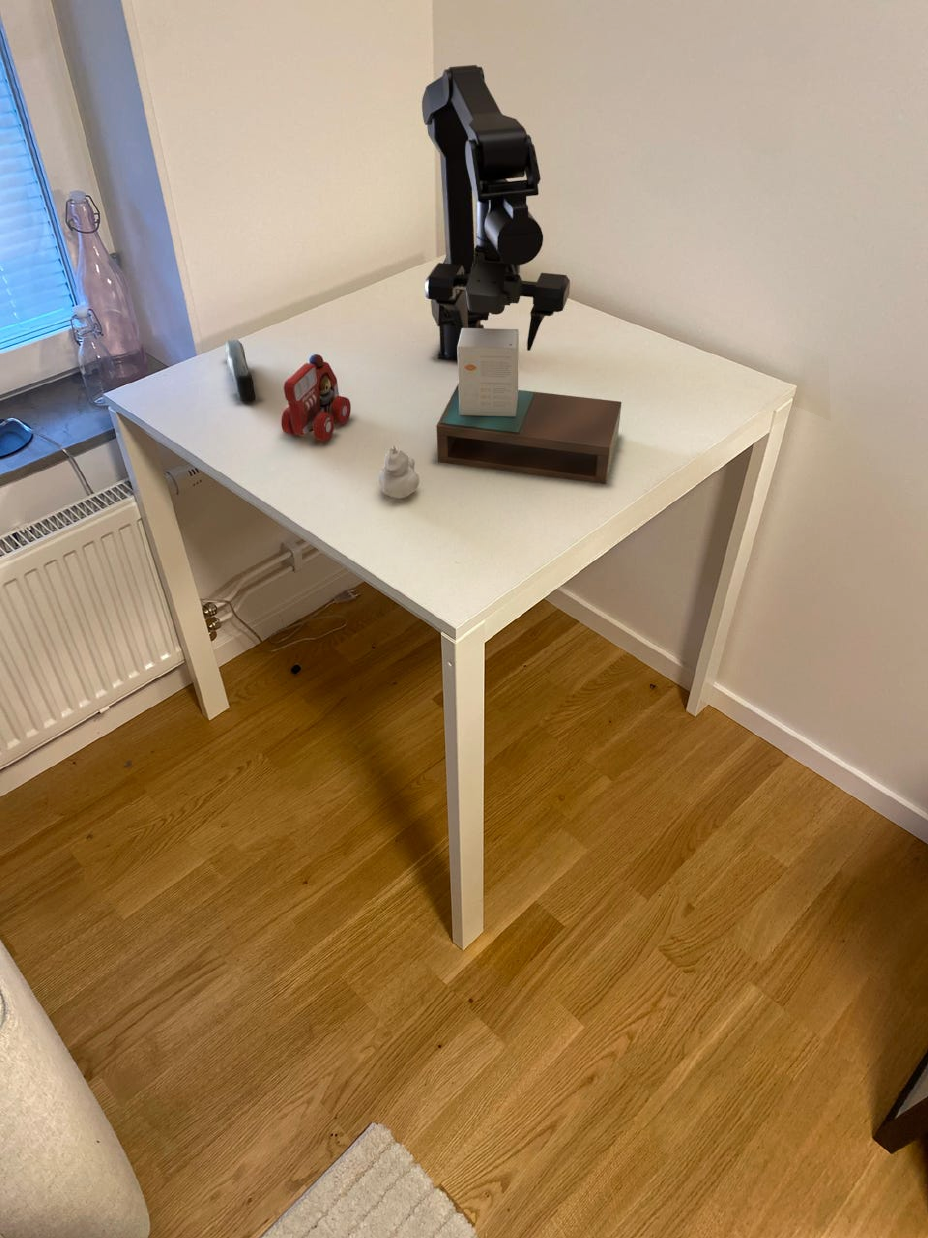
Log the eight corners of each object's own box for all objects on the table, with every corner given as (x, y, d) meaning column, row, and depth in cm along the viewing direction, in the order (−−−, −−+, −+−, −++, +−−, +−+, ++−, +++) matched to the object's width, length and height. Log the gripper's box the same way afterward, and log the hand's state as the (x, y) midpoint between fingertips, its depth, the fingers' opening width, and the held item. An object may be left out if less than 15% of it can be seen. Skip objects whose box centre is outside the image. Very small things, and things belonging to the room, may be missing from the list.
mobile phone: (254, 374, 142) (237, 329, 152) (235, 378, 142) (218, 332, 152) (260, 402, 146) (242, 357, 156) (240, 406, 145) (224, 360, 155)
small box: (518, 397, 133) (520, 328, 126) (516, 418, 129) (517, 347, 122) (462, 395, 134) (461, 326, 127) (458, 415, 130) (456, 345, 123)
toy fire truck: (358, 410, 143) (351, 347, 136) (318, 452, 135) (309, 388, 128) (318, 402, 145) (309, 339, 138) (277, 443, 137) (265, 379, 130)
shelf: (437, 461, 133) (436, 424, 129) (459, 418, 141) (458, 381, 137) (605, 484, 128) (610, 445, 124) (617, 437, 137) (621, 400, 132)
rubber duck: (371, 499, 127) (366, 449, 121) (395, 473, 131) (391, 424, 125) (406, 509, 125) (402, 459, 119) (429, 483, 129) (427, 433, 124)
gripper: (410, 252, 116) (416, 366, 127) (558, 265, 113) (551, 382, 123) (434, 218, 124) (438, 328, 135) (574, 230, 120) (566, 342, 131)
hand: (497, 345), depth 131 cm, fingers open, 9 cm apart
